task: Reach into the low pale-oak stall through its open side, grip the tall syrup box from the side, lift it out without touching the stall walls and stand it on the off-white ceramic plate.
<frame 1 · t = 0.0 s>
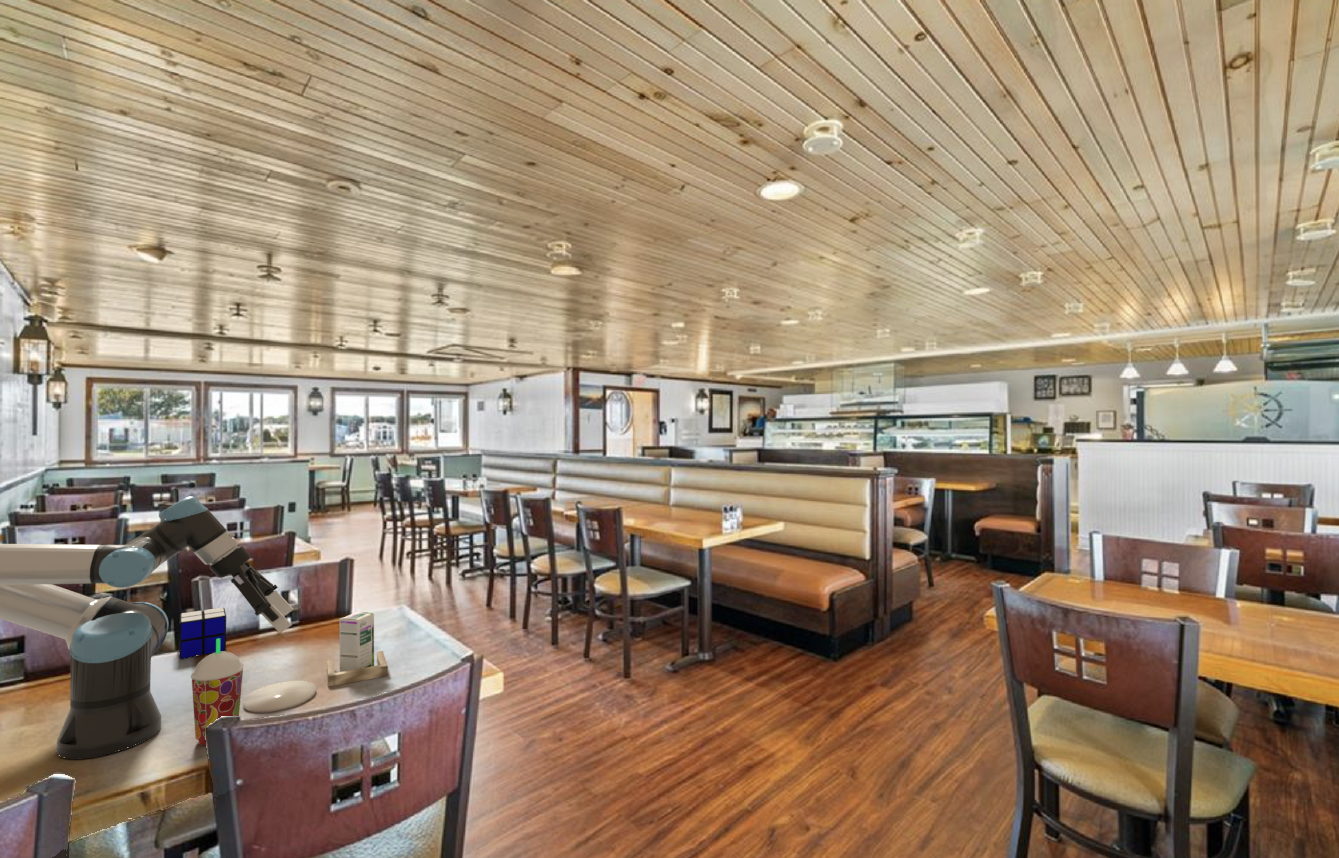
hand: (287, 620, 144), 15 cm above the table, tool tilted 35°, fingers open, 13 cm apart
oak stall: (356, 671, 152), on the table
puzzle cube: (202, 651, 165), on the table
syrup box: (356, 672, 152), on the table
ceramic plate: (280, 698, 137), on the table
smoothie: (217, 739, 119), on the table
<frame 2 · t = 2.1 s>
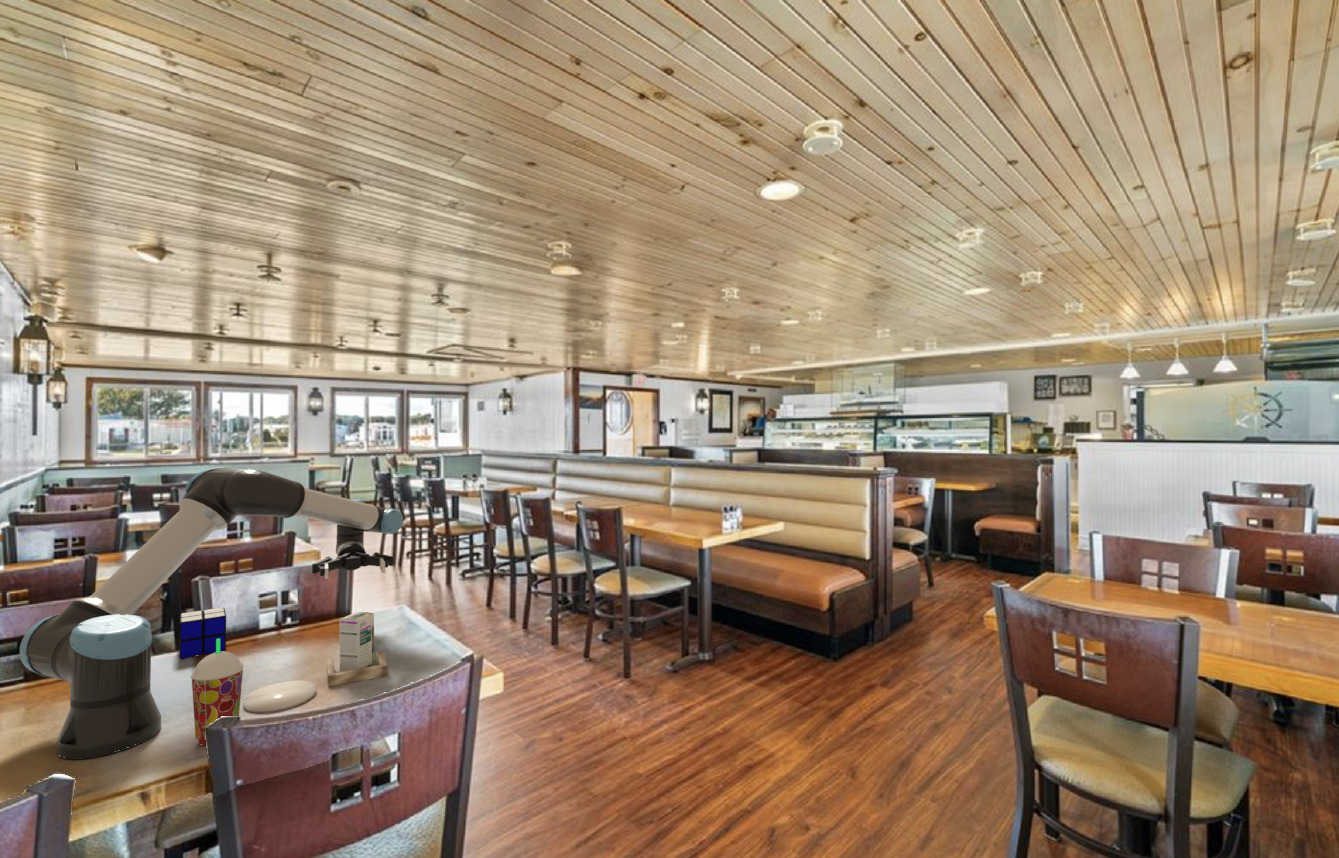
hand: (355, 570, 160), 24 cm above the table, tool horizontal, fingers open, 13 cm apart
nothing on the table moved.
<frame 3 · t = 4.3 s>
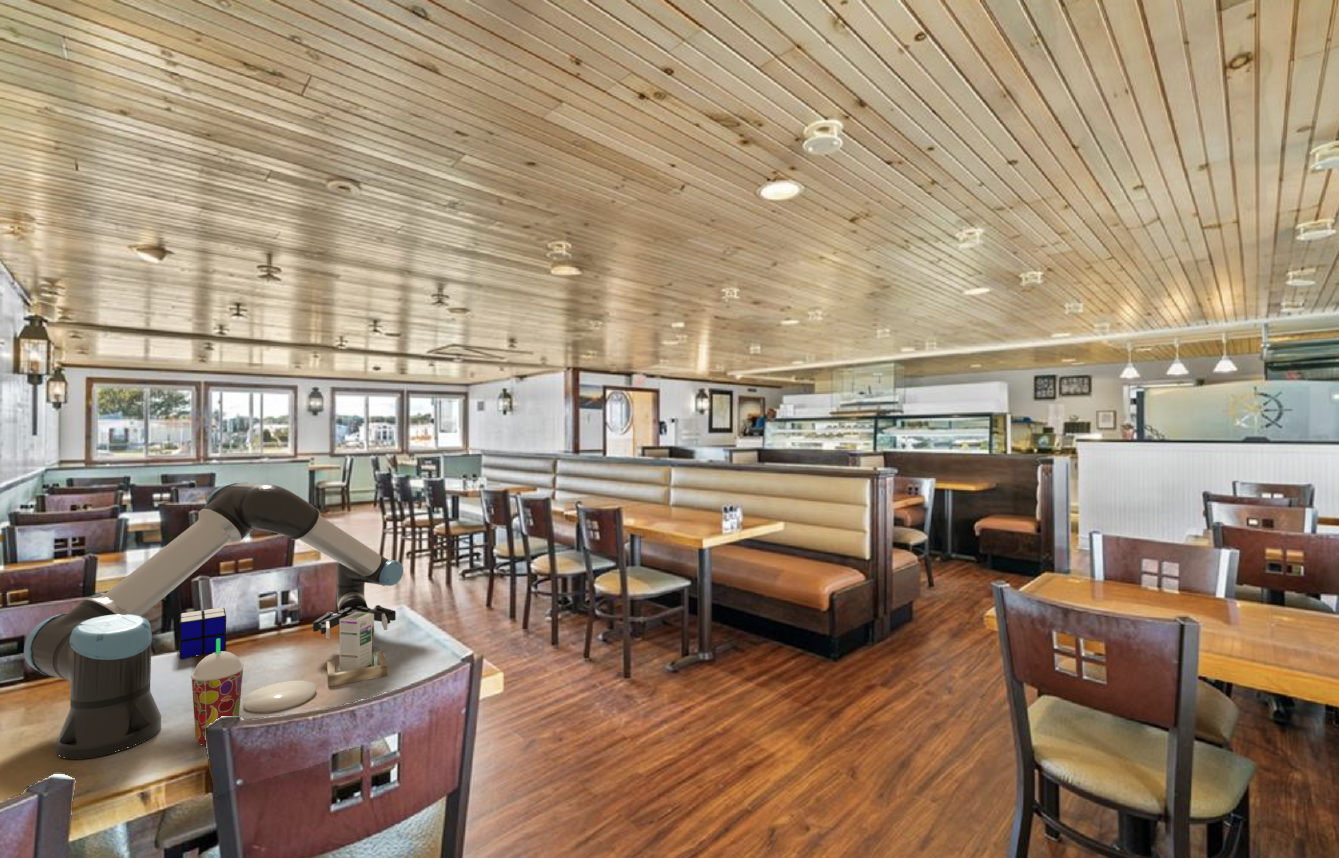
hand: (357, 629, 158), 9 cm above the table, tool horizontal, fingers open, 13 cm apart
nothing on the table moved.
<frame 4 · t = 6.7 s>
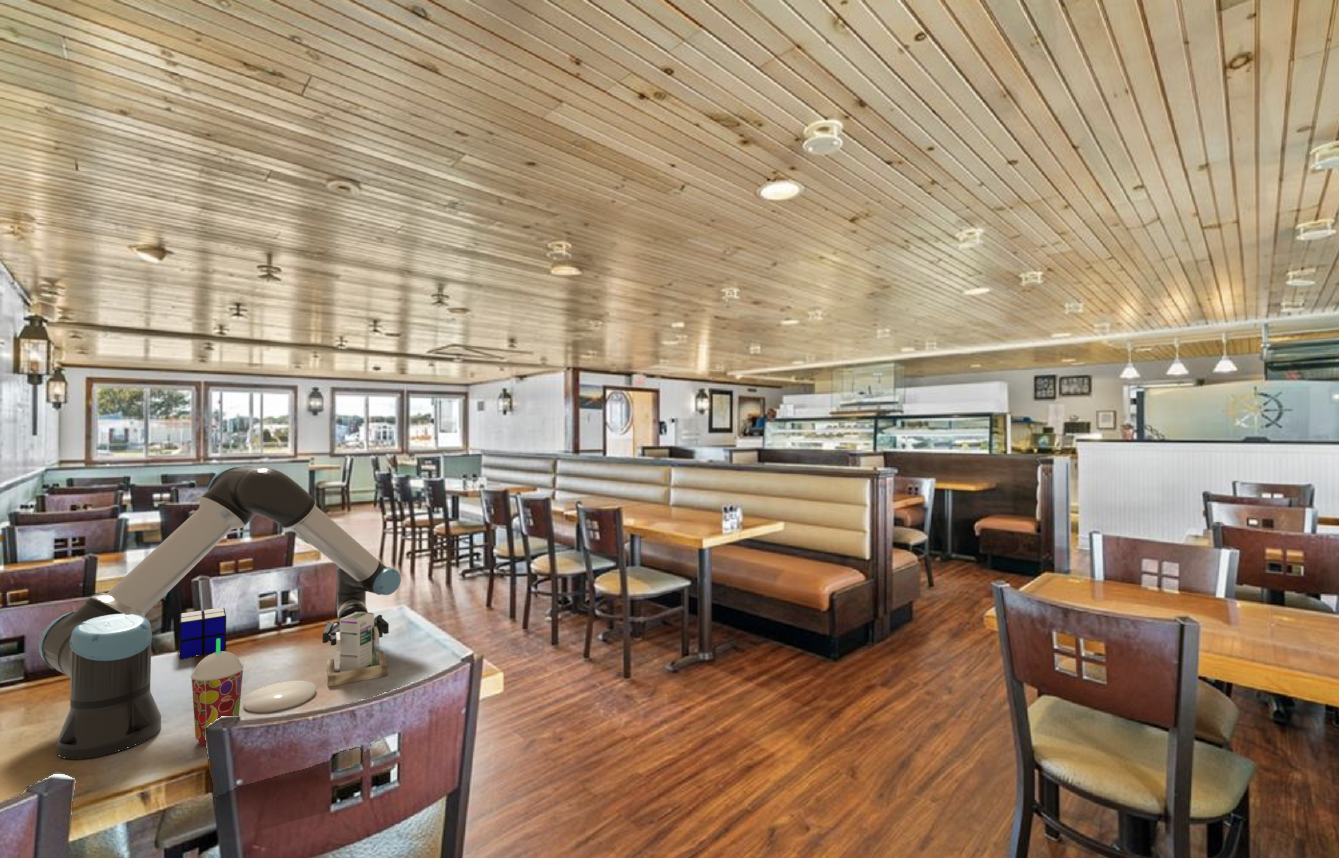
hand: (358, 642, 148), 9 cm above the table, tool horizontal, fingers closed on syrup box, 8 cm apart
syrup box: (356, 672, 152), on the table, touching gripper
everything else where it was.
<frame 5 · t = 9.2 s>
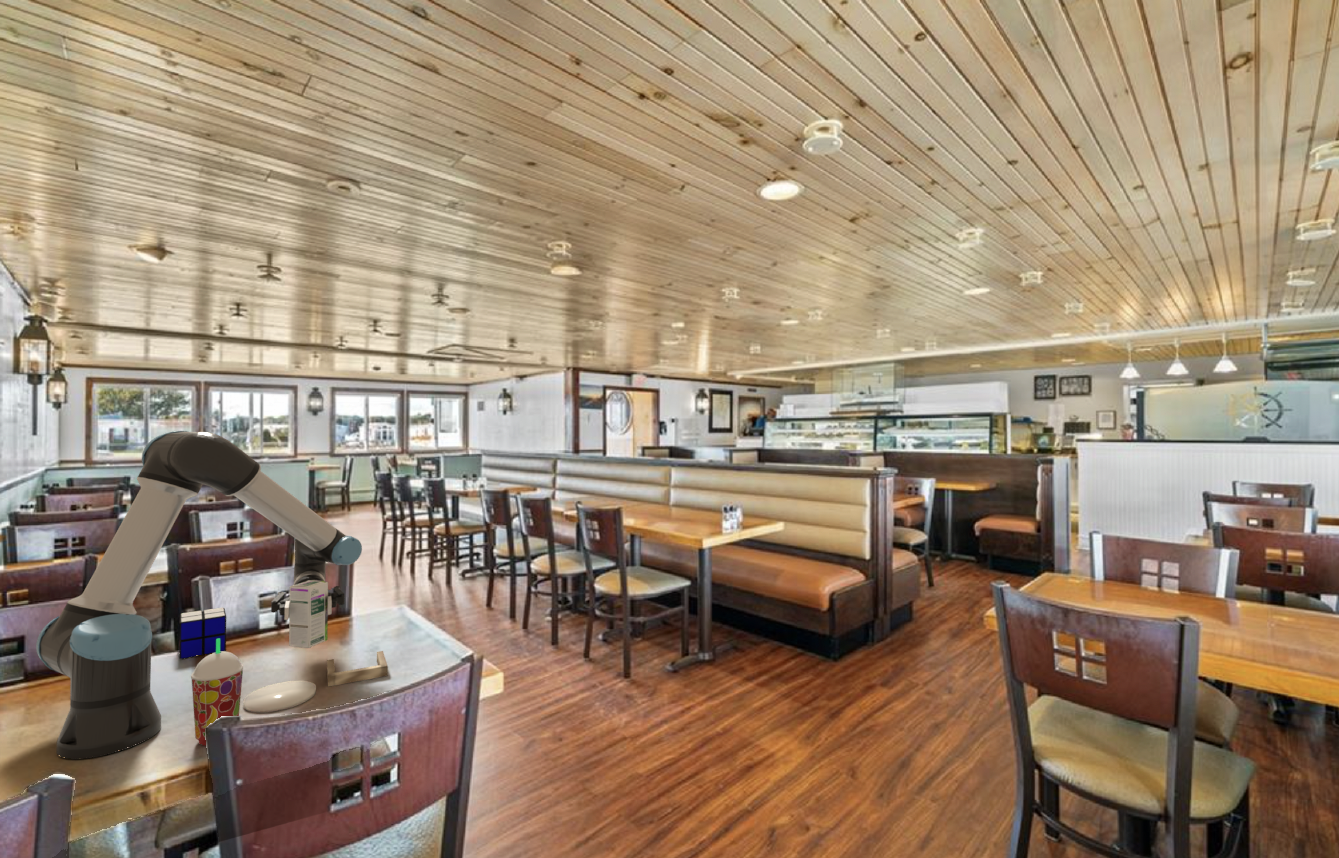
hand: (308, 611, 138), 20 cm above the table, tool horizontal, fingers closed on syrup box, 8 cm apart
syrup box: (308, 644, 142), point 11 cm above the table, touching gripper
everything else where it was.
when the fingers open (11 cm above the table, at t = 11.6 s): syrup box drops 1 cm, resting on ceramic plate.
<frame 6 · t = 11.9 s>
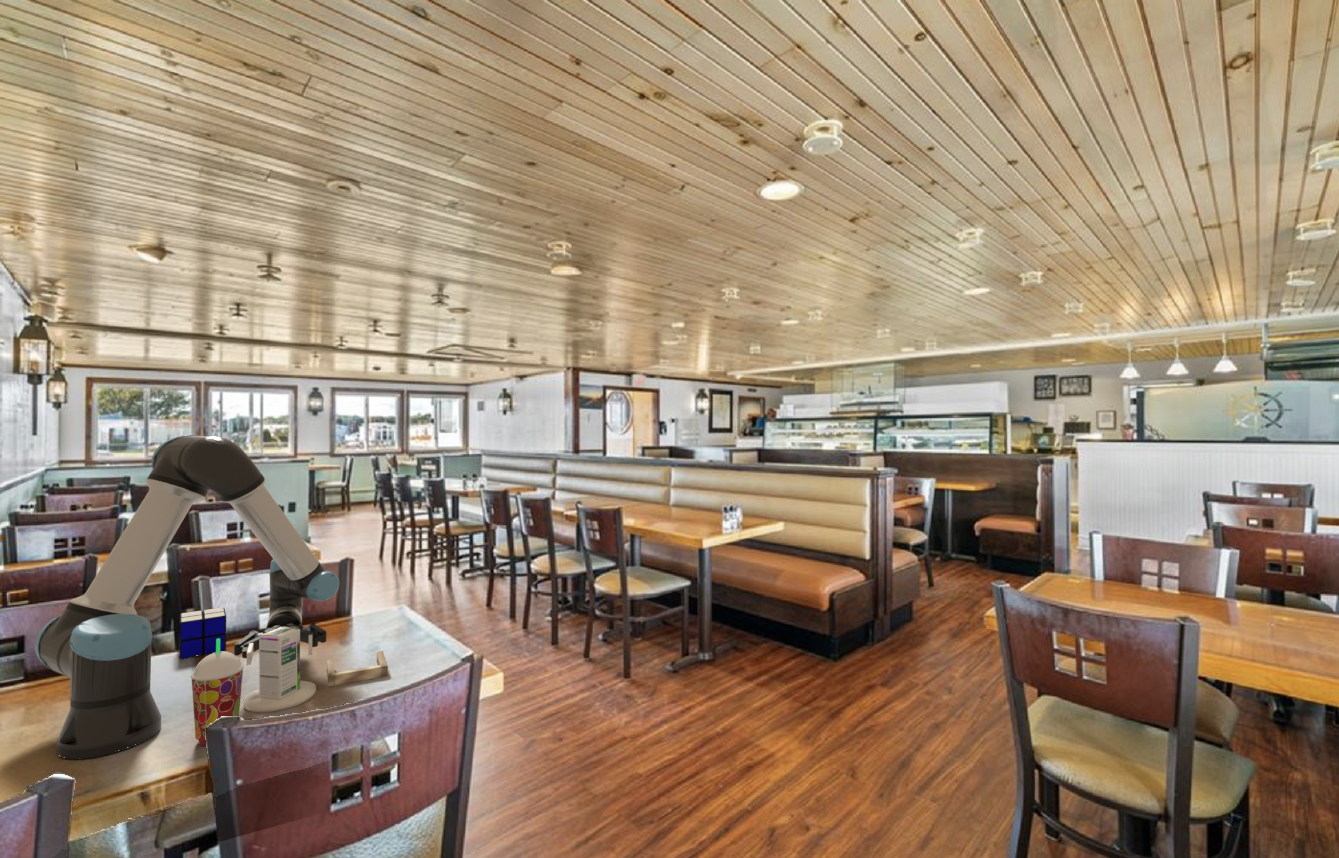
hand: (280, 653, 133), 11 cm above the table, tool horizontal, fingers open, 11 cm apart
syrup box: (279, 694, 137), point 1 cm above the table, touching ceramic plate
everything else where it was.
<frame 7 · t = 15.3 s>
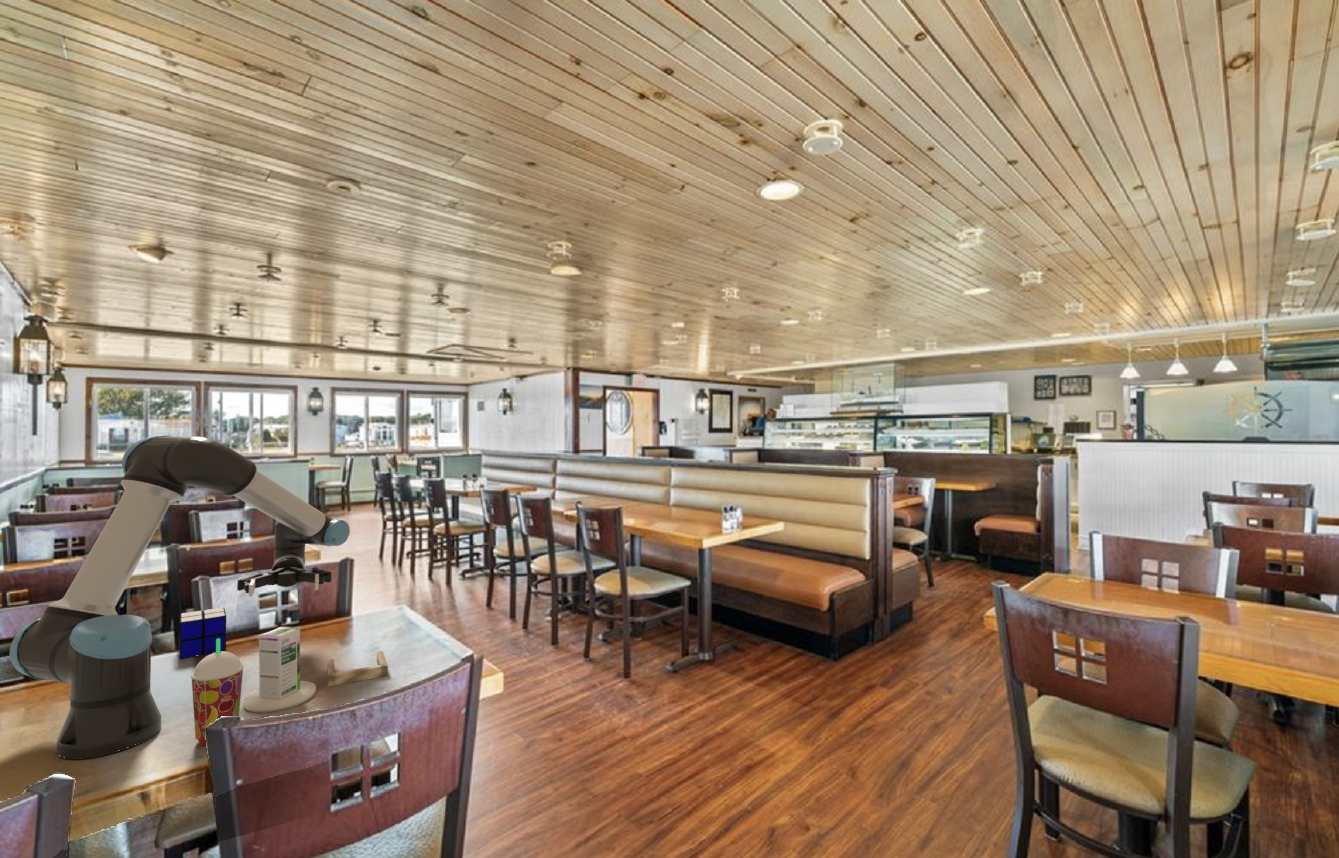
hand: (284, 587, 145), 23 cm above the table, tool horizontal, fingers open, 13 cm apart
nothing on the table moved.
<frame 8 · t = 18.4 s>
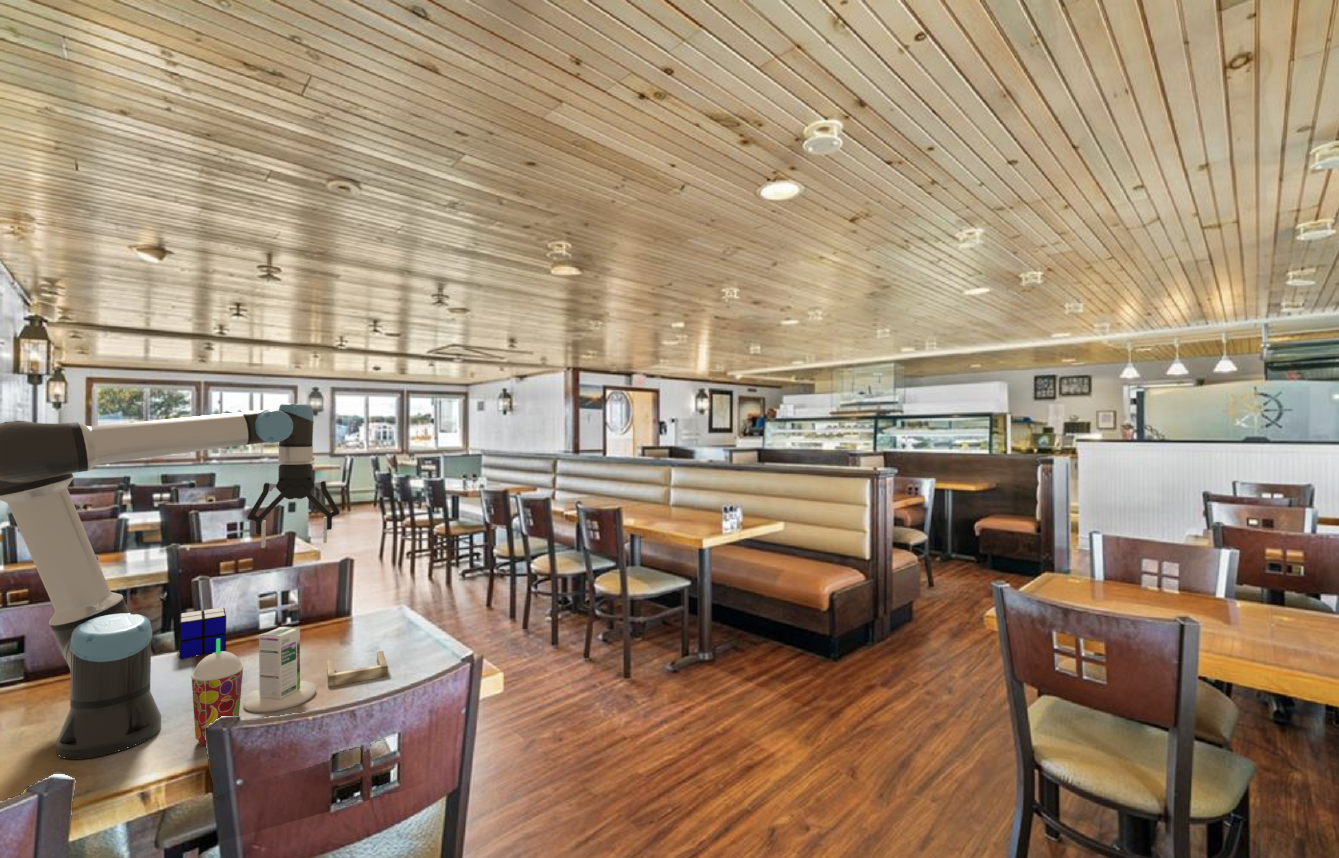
hand: (294, 544, 155), 32 cm above the table, tool pointing down, fingers open, 13 cm apart
nothing on the table moved.
at the end: syrup box inside the target area on the ceramic plate (0.2 cm from its centre), point 0.8 cm above the ceramic plate's base; syrup box tilted 0°; the gripper is holding nothing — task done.
